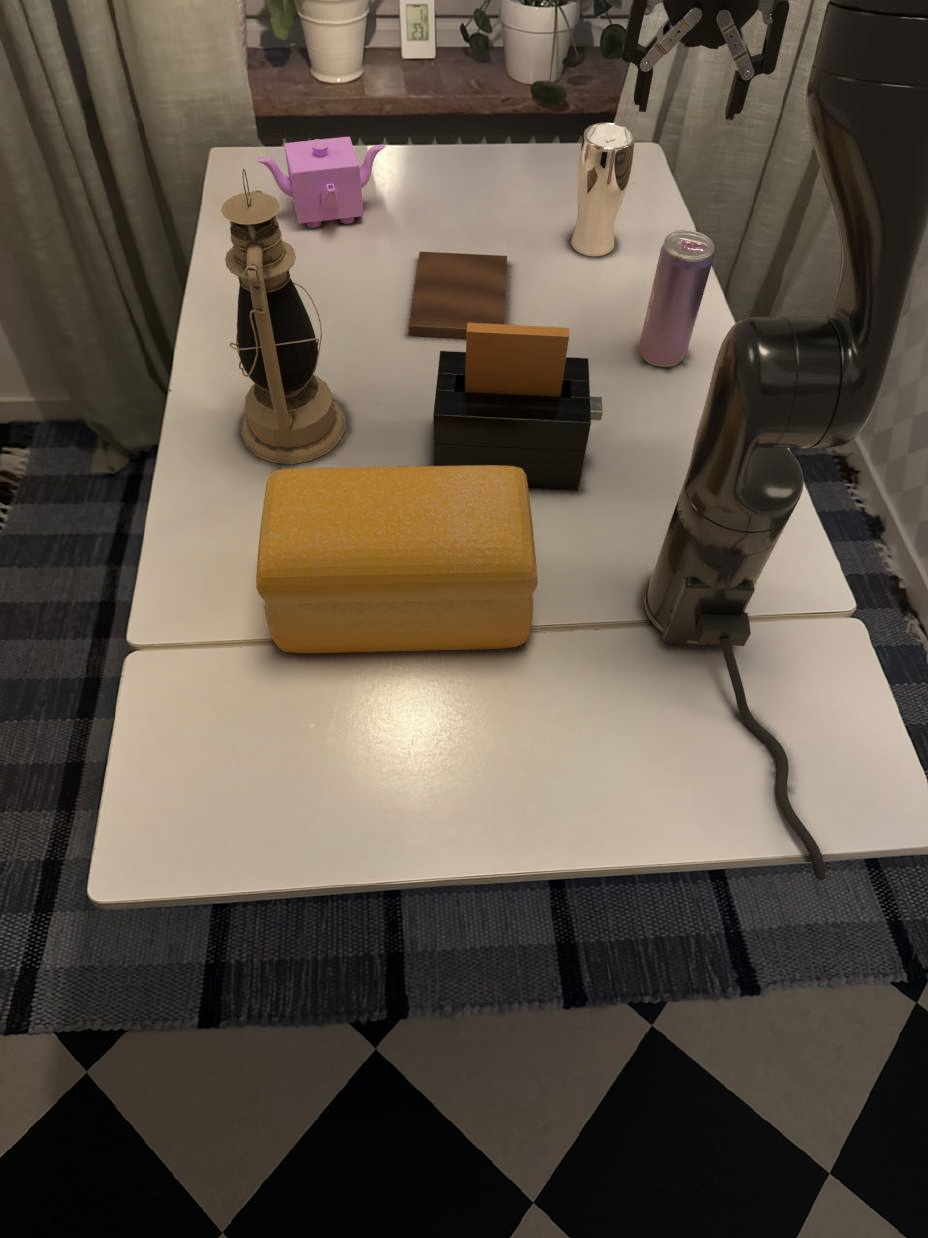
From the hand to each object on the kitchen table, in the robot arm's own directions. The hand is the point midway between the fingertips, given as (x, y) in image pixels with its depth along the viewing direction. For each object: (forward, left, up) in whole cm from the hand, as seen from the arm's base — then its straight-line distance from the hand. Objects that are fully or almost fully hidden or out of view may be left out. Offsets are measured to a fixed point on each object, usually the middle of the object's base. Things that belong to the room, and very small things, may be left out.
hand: (685, 112), depth 85 cm
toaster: (-20, +16, -28) cm, 38 cm away
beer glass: (+22, +5, -29) cm, 36 cm away
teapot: (+26, +43, -29) cm, 58 cm away
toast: (-20, +16, -22) cm, 34 cm away
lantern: (-17, +40, -29) cm, 52 cm away
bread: (-41, +26, -29) cm, 56 cm away
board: (+8, +23, -28) cm, 37 cm away
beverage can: (-1, -3, -29) cm, 29 cm away
